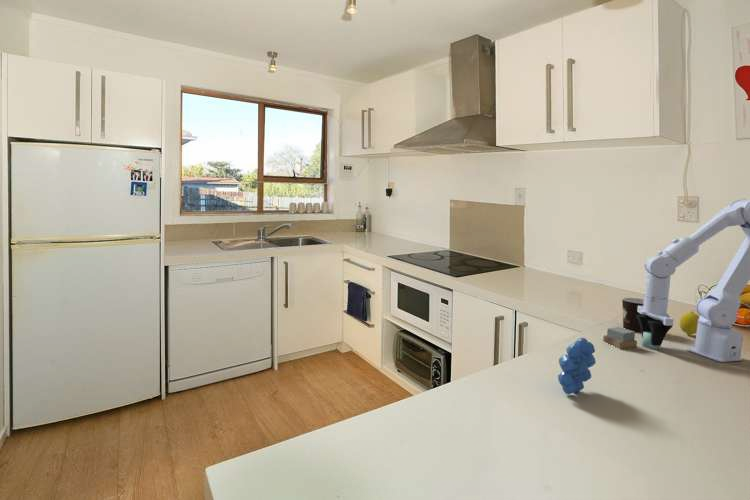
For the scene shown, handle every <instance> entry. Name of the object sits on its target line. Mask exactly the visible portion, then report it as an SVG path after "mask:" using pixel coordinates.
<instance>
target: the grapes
mask: <svg viewBox="0 0 750 500" xmlns="http://www.w3.org/2000/svg"><path fill="white" fill-rule="evenodd" d="M565 350H566V354H564V355H561V356H560V357H559V358H558V364H559V366H560V368H561V369H560V370H562V372H559V374H558V375H557V379H558V382H559V384H560V386H561V387H562V388H561V389H562V390H563V392H564V394H566V395H571V394H573V393H579V392H580V391H582V390H583V389H584V388H585V386H584V383H585V382H587V381H590V379H591V378H592V374H591V371H590V369H589V368H591V367H593V366H594V365H596V358H595V356H594V355H593V354H594V353H595V352H596V349H595V346H594V344H593V343H592V342H591V341H588V339H586V338H585V337H580V338H578V339H577V340H576V341H575V342H574V343H571V344H570V345H568V347H566V349H565Z"/></svg>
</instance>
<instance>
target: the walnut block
mask: <svg viewBox="0 0 750 500" xmlns="http://www.w3.org/2000/svg"><path fill="white" fill-rule="evenodd" d="M602 340H603V341H604V342H606V343H608V344H607V345H609V344H610V345H609V346H611V345H613V346H615V347H614V348H616V347H617V348H616V349H618V348H629V349H635V348H634V347H636V348H637V347H638V346H637V345H638V341H637V340H636V339H634V340H632V341H626V342H622V341H619V340H616V339H613V338H610V337H607V334H606V335H603V339H602ZM603 341H602V342H603ZM604 342H603V343H604ZM606 343H605V344H606ZM613 346H612V347H613Z"/></svg>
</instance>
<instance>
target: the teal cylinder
mask: <svg viewBox="0 0 750 500" xmlns="http://www.w3.org/2000/svg"><path fill="white" fill-rule="evenodd" d="M641 340H642V341H641V346H642V347H643V348H645V349H648V348H649V349H648V350H653V349H654V350H655V351H657V350H661V346H655V345H652V343H651V332H643V339H641Z"/></svg>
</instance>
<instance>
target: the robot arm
mask: <svg viewBox="0 0 750 500" xmlns="http://www.w3.org/2000/svg"><path fill="white" fill-rule="evenodd" d="M736 226H739V227H740V228H741V230H742V232H743V233H744V235H745V239H744V240H743V242H742V244H741V245H740V247H739V248H738V250H737V252H736V253H735V255H734V256H733V259H732V260H731V262H730V263H729V265H728V266H727V268H726V270H725V271H724V273H723V275H722V277H721V278H720V280H719V281H718V283H717V284H716V286H715V287H714V288H712V289H711V290H710V291H708V292H707V294H706V295H705V296H703V298H701V299H699V300H698V301H697V303H696V306H695V308H696V312H697V315H698V316H699V317H700V318H699V319H698V325H697V333H695V334H696V335H695V343H694V347H688V348H687V347H686V349H685V350H686V351H689V352H692V353H694V354H697V355H699V356H700V355H701V356H703V357H705V358H708V359H711V360H713V361H717V362H719V363H726V362H727V363H729V362H736V361H743V358H741V357H742V350H743V349H742V348H743V341H744V339H743V334H742V333H741V331H739V330H737V329H735V328H734V327H732V326H733V324H735V323H736V322H737V320H738V317H739V315H738V313H739V309H740V307H741V300H740V296H741V295H742V293H743V291H744V290H745V288H746V287H747V285H748V283H749V281H750V199H745V198H744V199H742V198H741V199H738V200H737V199H736V200H735V201H733V202H732V203H730V205H728V206H726V207H723V208H722V209H721V210H720V211H719V212H718V213H717V214H715V215H714V216H713V217H711V218H710V219H709V220H708V221H707V222H705V223H704V224H703V225H702V226H700V227H699V228H698V229H696V231H694V232H693V233H692V234H691V235H690V236H688V237H687V236H685V237H684V236H681V237H680V238H674V239H672V240H671V244H670V245H668V246H667V247H666V248H664V249H663V250H662V251H661V250H659V251H657V252H656V253H657V255H653V256H651V257H649V258H648V259H647V260H646V263H644V269H645V271H646V279H645V280H646V281H645V286H644V287H645V289H644V298H643V299H644V305H643V306H638V309H637V312H639V313H640V314H641V315H636V318H637V319H638V322H639V324H640V328H641V333H640V334H641V338H642V339H641V340H643V332H651V343H652V345H655V346H660V347H661V345H662V343H663V341H664V338H665V337H666V335H667V334H668V332H669V331H670V330H671V329H672V328H673V327H674V318H672V317H671V316H670V315H669V314H668V313H667V312H668V306H669V297H670V287H671V276H673V275H675V273H676V270H677V268H678V267H680V266H681V265H682V264H684V263H685V262H687V261H688V260H689V259H691V258H692V257H693V256H695V255H696V254H698V253H699V248H700V245H702V244H703V243H705V242H707V241H708V240H710V239H711V238H712V237H715V236H716V235H717V234H719V233H721V231H723V230H724V229H726V228H728V227H736Z"/></svg>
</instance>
